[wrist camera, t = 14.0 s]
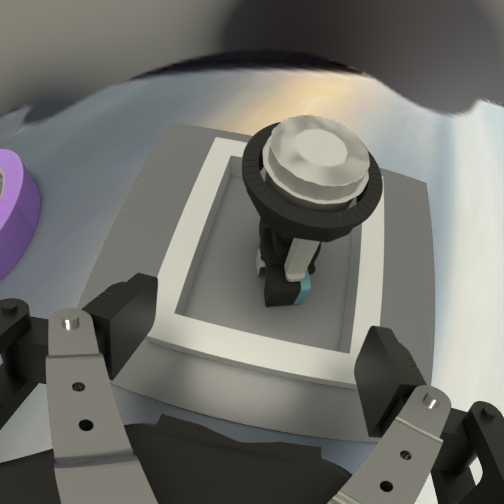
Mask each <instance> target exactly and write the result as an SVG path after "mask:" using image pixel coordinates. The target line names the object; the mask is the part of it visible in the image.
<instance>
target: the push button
mask: <svg viewBox="0 0 504 504" xmlns="http://www.w3.org/2000/svg"><path fill="white" fill-rule="evenodd" d="M263 167H265V169H266V177H265V181H264V180H263V178H262V176H261V173H260V171H261V170H262V169H263ZM242 177H243V181H244V184H245V187H246V191H247V193H248V195H249V197H250V199H251V201H252V203H253V204H254V206H255V208H256V210H257V212H258V214H259V216H260V223H259V235H260V239H261V240H260V249H258V252H257V257H256V267H257V275H258V276H259V275H260V270H261V267H266V281H265V288H264V299H265V306H266V307H269V306H282V305H293V304H302V303H303V302H304V299H305V298H306V296H307V295H308V293H309V291H310V288H311V285H310V278H309V275H310V274H314V272H315V270H316V269H315V261H316V259H317V257H318V255H319V252H320V250H321V242H331V241H333V240H336V239H339V238H341V237H344V236H347V235H348V234H349V233H350V232H351V230H352V229H353V228H354V227H356V226H358V225H360V224H361V223H363V222H364V221H366V220H367V219H368V218H369V217H370V216H371V214H372V213H373V212H374V210H375V209H376V207H377V205H378V203H379V202H380V199H381V196H382V192H383V180H382V175H381V172H380V169H379V167H378V164H377V163H376V161H375V159H374V158H373V156H372V155H371V154H370V152H369V151H368V149H367V147H366V146H365V145H364V143H363V142H362V140H361V139H360V138H359V136H358V135H357V134H356V133H355V132H354V131H352V130H350V129H349V128H347V127H346V126H344V125H343V124H342V123H340V122H337V121H335V120H332V119H328V118H325V117H322V116H314V115H299V116H295V117H291V118H288V119H285V120H283V121H282V122H278V123H275V124H272V125H270V126H267V127H265V128H263V129H262V130H260V131H259V132H257V133H256V134H255V135H254V136H253V137H252V138H251V139H250V140H249V142H248V143H247V145H246V147H245V149H244V152H243V156H242ZM354 197H356V205H354V206H352V207H351V208H349V206H350V204H351V202H352V200H353V198H354Z"/></svg>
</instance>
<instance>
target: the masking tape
mask: <svg viewBox="0 0 504 504" xmlns="http://www.w3.org/2000/svg"><path fill="white" fill-rule="evenodd" d="M0 192H1V195H0V279H1V278H3V277H4V276H5V275H6V274H7V273H8V272H9V271H10V270H11V269H12V268H13V267H14V265H15V264H16V263H17V262H18V260H19V259H20V257H21V256H22V255H23V253H24V251H25V250H26V248H27V246H28V244H29V242H30V240H31V238H32V236H33V234H34V231H35V229H36V226H37V222H38V217H39V212H40V193H39V190H38V187H37V185H36V184H35V182H34V181H33V179H32V177H31V176H30V174H29V172H28V171H27V169H26V168H25V166H24V164H23V162H22V161H21V159H20V157H19V156H18V155H17V154H16V153H14V152H13V151H10V150H6V149H0Z"/></svg>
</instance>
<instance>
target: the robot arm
mask: <svg viewBox="0 0 504 504" xmlns="http://www.w3.org/2000/svg"><path fill="white" fill-rule="evenodd" d="M157 293H158V278H157V277H154V276H150V275H146V274H142V273H137V274H135V275H134V276H133V277H132V278H130V279H129V280H128V281H127V282H124V281H122V282H119V283H116V284H113V285H111V286H109V287H108V288H107V289H106V290H104V292H102V293H101V294H99V295H98V297H96V298H94V299H93V300H92V301H91V302H89V303H88V304H87V305H86V306H84V307H83V308H82V309H81V310H80V309H74V308H67V309H61V310H58V311H56V312H54V313H53V314H52V315H51V316H50V318H49V320H48V319H42V318H36V317H31V316H30V312H29V306H28V304H27V303H26V302H25V301H23V300H20V299H14V298H9V299H3V300H0V354H1V357H2V361H3V363H2V364H1V365H0V430H1V429H2V427H3V426H4V425H5V424H6V422H7V421H8V420H9V419H10V417H11V416H12V415H13V414H14V412H15V411H16V410H17V409H18V407H19V406H20V405H21V404H22V403H23V401H24V400H25V399H26V398H27V397H28V395H29V394H30V393H31V392H32V391H33V389H34V388H35V387H36V386H37V385H38V383H42V384H47V398H48V410H49V420H50V429H51V437H52V444H53V449H50V450H46V451H43V452H40V453H36V454H33V455H29V456H25V457H22V458H18V459H14V460H10V461H6V462H2V463H0V504H414V503H415V501H416V499H417V497H418V495H419V494H420V492H421V490H422V488H423V486H424V484H425V482H426V479H427V477H428V475H429V473H430V472H431V476H432V480H433V484H434V488H435V492H436V496H437V500H438V504H504V417H503V416H502V414H501V412H500V411H499V410H498V409H497V408H496V407H495V406H493V405H492V404H490V403H487V402H484V401H477V402H475V403H473V405H472V406H471V408H470V409H469V411H468V412H465V411H461V410H457V409H454V408H451V401H450V399H449V398H448V396H447V395H446V394H445V393H444V392H442V391H441V390H439V389H437V388H435V387H432V386H428V385H427V384H426V382H425V380H424V378H423V376H422V374H421V372H420V370H419V368H417V365H416V363H415V361H413V360H414V359H413V357H412V355H411V353H410V352H409V350H408V349H407V348H406V347H404V346H403V345H402V344H401V343H399V342H398V340H397V338H396V337H395V335H394V333H393V331H392V329H391V328H385V327H379V326H374V325H373V326H371V327H370V328H369V330H368V332H367V335H366V337H365V340H364V342H363V345H362V347H361V350H360V352H359V354H358V357H357V359H356V362H355V366H354V377H355V381H356V385H357V389H358V393H359V397H360V401H361V405H362V409H363V414H364V418H365V422H366V427H367V431H368V436H369V437H375V438H381V440H380V441H379V442H378V444H377V445H376V446H375V448H374V449H373V450H372V452H371V453H370V454H369V456H368V457H367V458H366V459H365V461H364V462H363V463H362V464H361V466H360V467H359V468H358V469H357V471H356V472H355V473H354V474H353V475H352V474H351V473H349V472H348V471H347V470H345V469H343V468H342V467H340V466H338V465H336V464H334V463H332V462H329V461H327V460H324V459H321V447H315V446H306V445H299V444H291V443H285V442H272V443H242V442H237V441H235V440H232V439H230V438H228V437H225V436H223V435H221V434H219V433H216V432H214V431H212V430H210V429H208V428H206V427H203V426H201V425H198V424H195V423H191V422H187V421H184V420H180V419H177V418H173V417H170V416H167V415H164V414H162V415H161V417H160V419H159V421H158V423H157V424H144V423H141V424H129V425H123V422H122V419H121V416H120V413H119V410H118V407H117V404H116V401H115V397H114V394H113V391H112V387H111V384H110V380H111V381H113V380H114V379H115V377H116V376H117V375H118V373H119V372H120V371H121V369H122V368H123V367H124V365H125V364H126V363H127V361H128V360H129V359H130V357H131V356H132V355H133V353H134V352H135V351H136V349H137V348H138V347H139V345H140V344H141V343H142V341H143V340H144V339H145V337H146V336H147V335H148V333H149V332H150V331H151V329H152V327H153V325H154V321H155V317H156V305H157ZM477 456H478V459H479V461H480V464H481V466H482V470H483V474H482V478H481V480H480V482H479V483H478V484H477V485H475V482H474V479H473V476H472V473H471V470H470V468H469V466H470V465H471V463H472V462H473V461H474V460H475V459H476V458H477Z"/></svg>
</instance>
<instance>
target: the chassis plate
mask: <svg viewBox="0 0 504 504" xmlns="http://www.w3.org/2000/svg"><path fill="white" fill-rule="evenodd" d="M252 137H253V136H250V135H244V134H239V133H233V132H228V131H222V130H216V129H210V128H203V127H197V126H190V125H183V124H175V123H170V124H169V126H168V127H167V129H166V130H165V132H164V134H163V135H162V137H161V139H160V140H159V142H158V144H157V145H156V147H155V149H154V150H153V152H152V154H151V155H150V157H149V159H148V161H147V162H146V164H145V166H144V168H143V169H142V171H141V173H140V175H139V177H138V178H137V180H136V182H135V184H134V186H133V188H132V189H131V191H130V193H129V195H128V197H127V199H126V201H125V203H124V205H123V207H122V209H121V211H120V213H119V215H118V217H117V219H116V221H115V223H114V225H113V227H112V229H111V231H110V233H109V235H108V237H107V239H106V241H105V244H104V246H103V248H102V250H101V252H100V255H99V257H98V259H97V261H96V264H95V266H94V268H93V270H92V273H91V275H90V277H89V280H88V282H87V285H86V287H85V290H84V292H83V295H82V297H81V300H80V302H79V305H78V307H77V309H80V310H81V309H82V308H83V307H84V306H86V305H87V304H88V303H89V302H91V301H92V300H93V299H94V298H96V297H98V295H99V294H101V293H102V292H104V290H106V289H107V288H108V287H109V286H111V285H113V284H116V283H119V282H122V281H124V282H127V281H128V280H129V279H130V278H132V277H133V276H134V275H135V274H137V273H142V274H146V275H150V276H154V277H157V278H158V293H157V305H156V317H155V321H154V325H153V327H152V329H151V331H150V332H149V333H148V335H147V336H146V337H145V339H144V340H143V341H142V343H141V344H140V345H139V347H138V348H137V349H136V351H135V352H134V353H133V355H132V356H131V357H130V359H129V360H128V361H127V363H126V364H125V365H124V367H123V368H122V369H121V371H120V372H119V373H118V375H117V376H116V377H115V379H114V380H113V381H111V380H110V383H112V384H114V385H117V386H119V387H122V388H124V389H127V390H130V391H133V392H135V393H138V394H141V395H144V396H147V397H149V398H152V399H155V400H158V401H161V402H164V403H168V404H171V405H174V406H177V407H181V408H184V409H187V410H191V411H194V412H198V413H201V414H205V415H209V416H213V417H216V418H220V419H224V420H229V421H233V422H237V423H241V424H246V425H251V426H255V427H260V428H265V429H270V430H276V431H281V432H287V433H293V434H300V435H306V436H313V437H321V438H329V439H338V440H348V441H360V442H374V443H378V442H379V441H380V440H381V438H375V437H369V436H368V431H367V427H366V422H365V418H364V414H363V409H362V405H361V401H360V397H359V393H358V389H357V385H356V381H355V377H354V366H355V362H356V359H357V357H358V354H359V352H360V350H361V347H362V345H363V342H364V340H365V337H366V335H367V332H368V330H369V328H370V327H371V326H373V325H374V326H379V327H385V328H391V329H392V331H393V333H394V335H395V337H396V338H397V340H398V342H399V343H401V344H402V345H403V346H404V347H406V348H407V349H408V350H409V352H410V353H411V355H412V357H413V359H414V360H413V361H415V363H416V365H417V368H419V370H420V372H421V374H422V376H423V378H424V380H425V382H426V384H427V385H428V386H431V378H432V367H433V353H434V333H435V274H434V253H433V239H432V227H431V217H430V208H429V200H428V192H427V185H426V183H425V182H422V181H419V180H416V179H413V178H410V177H407V176H404V175H401V174H398V173H395V172H392V171H389V170H385V169H382V168H379V169H380V172H381V175H382V180H383V192H382V196H381V199H380V202H379V203H378V205H377V207H376V209H375V210H374V212H373V213H372V214H371V216H370V217H369V218H368V219H367V220H366V221H364V222H363V223H361V224H360V225H358V226H356V227H354V228H353V229H352V230H351V232H350V233H349V234H348V235H347V236H344V237H341V238H339V239H336V240H333V241H331V242H321V250H320V252H319V255H318V257H317V259H316V261H315V269H316V270H315V272H314V274H310V275H309V278H310V285H311V288H310V291H309V293H308V295H307V296H306V298H305V299H304V302H303V303H302V304H293V305H282V306H269V307H266V306H265V299H264V288H265V281H266V267H261V270H260V275H259V276H258V275H257V267H256V257H257V252H258V249H260V240H261V239H260V235H259V223H260V216H259V214H258V212H257V210H256V208H255V206H254V204H253V203H252V201H251V199H250V197H249V195H248V193H247V191H246V187H245V184H244V181H243V177H242V156H243V152H244V149H245V147H246V145H247V143H248V142H249V140H250V139H251V138H252ZM260 173H261V176H262V178H263V180H264V181H265V177H266V169H265V167H263V169H262V170H261V171H260ZM354 205H356V197H354V198H353V200H352V202H351V204H350V206H349V208H351V207H352V206H354Z"/></svg>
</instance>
